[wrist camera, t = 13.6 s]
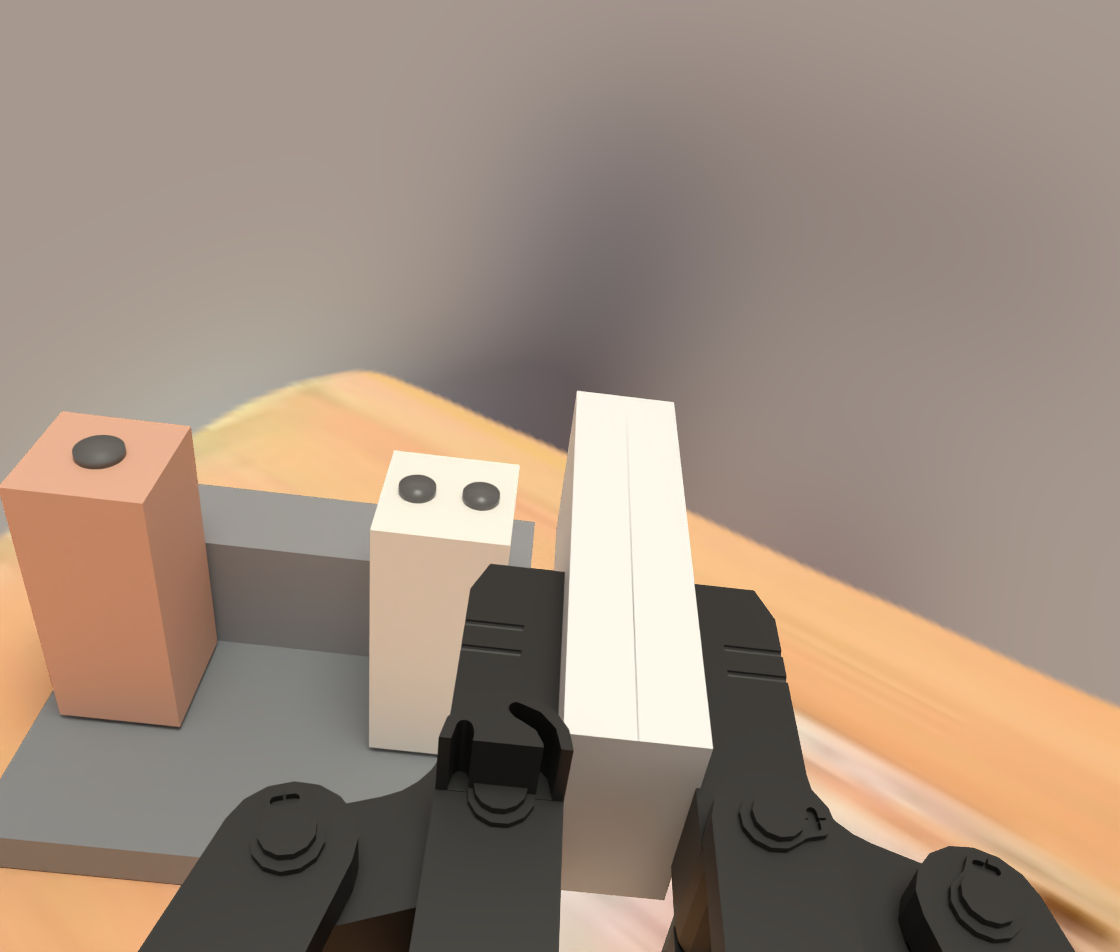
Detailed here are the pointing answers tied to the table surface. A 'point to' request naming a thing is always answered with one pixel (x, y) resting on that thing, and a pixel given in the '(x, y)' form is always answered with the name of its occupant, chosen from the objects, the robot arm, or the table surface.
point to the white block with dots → (428, 585)
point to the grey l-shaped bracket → (225, 704)
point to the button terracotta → (115, 565)
